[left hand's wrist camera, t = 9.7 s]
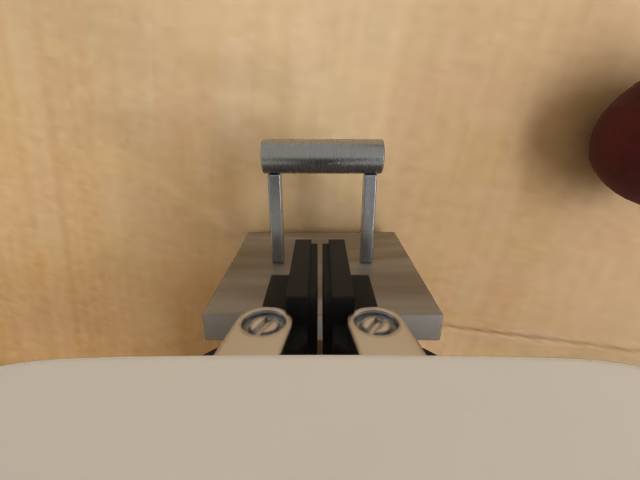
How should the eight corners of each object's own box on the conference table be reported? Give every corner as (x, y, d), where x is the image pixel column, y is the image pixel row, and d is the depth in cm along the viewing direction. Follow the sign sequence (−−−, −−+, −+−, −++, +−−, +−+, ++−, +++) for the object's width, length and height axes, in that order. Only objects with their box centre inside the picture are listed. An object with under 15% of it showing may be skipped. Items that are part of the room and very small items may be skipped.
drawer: (241, 132, 20) (179, 152, 11) (402, 132, 20) (467, 152, 11) (263, 420, 28) (236, 567, 19) (379, 420, 28) (407, 567, 19)
